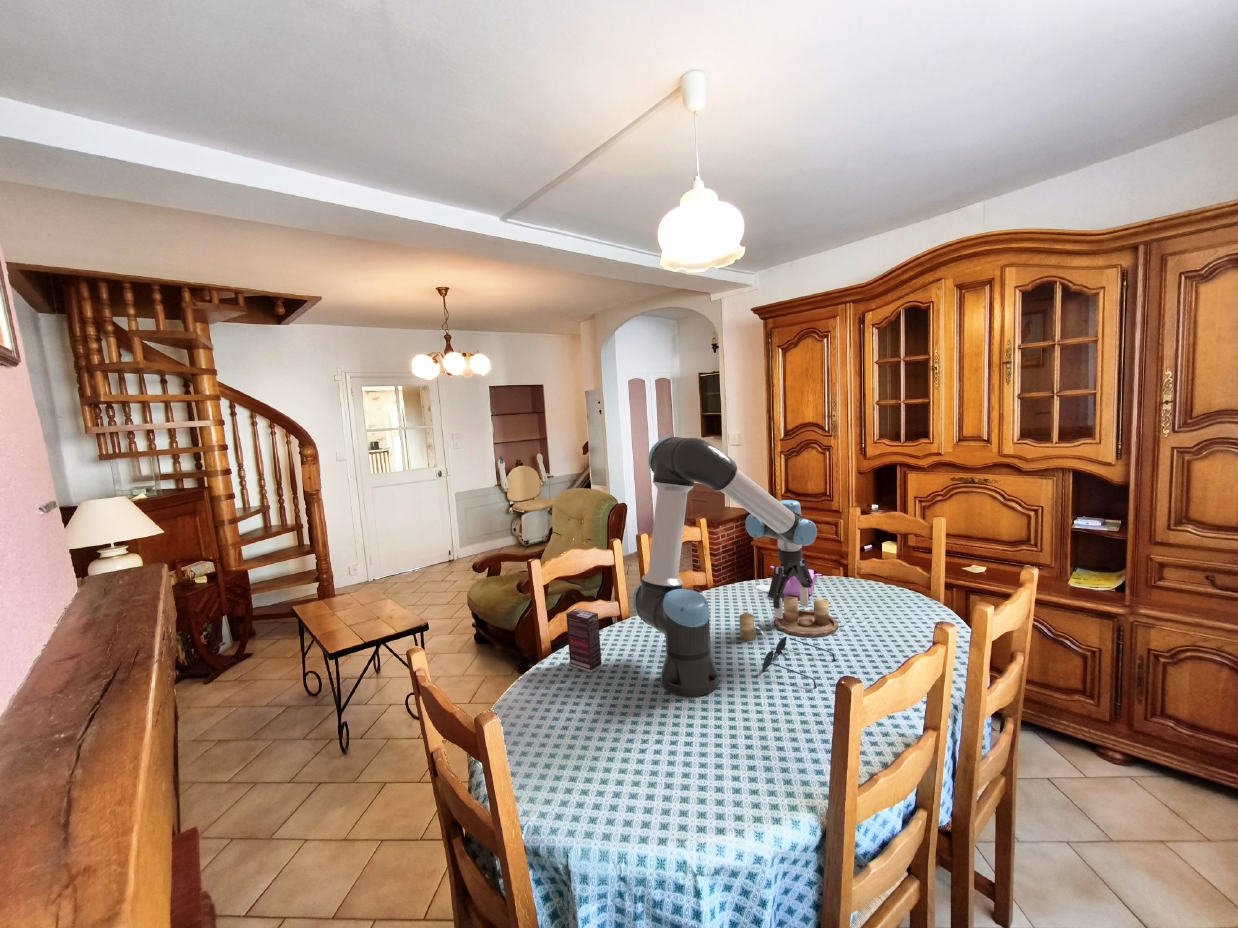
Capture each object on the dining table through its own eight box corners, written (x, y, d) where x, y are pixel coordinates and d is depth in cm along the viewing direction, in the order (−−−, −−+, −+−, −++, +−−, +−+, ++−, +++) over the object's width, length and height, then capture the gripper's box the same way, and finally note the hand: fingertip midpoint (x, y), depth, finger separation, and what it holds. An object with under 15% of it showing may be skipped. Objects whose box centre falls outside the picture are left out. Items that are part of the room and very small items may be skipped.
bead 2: (789, 615, 177) (789, 595, 176) (801, 619, 174) (800, 598, 173) (781, 619, 174) (780, 598, 174) (793, 623, 171) (792, 602, 170)
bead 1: (757, 640, 162) (756, 618, 162) (743, 641, 162) (742, 619, 161) (752, 634, 167) (751, 612, 166) (738, 635, 166) (737, 614, 166)
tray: (850, 635, 161) (849, 629, 161) (789, 642, 159) (789, 635, 159) (820, 612, 180) (820, 607, 180) (766, 618, 178) (765, 612, 178)
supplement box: (602, 666, 152) (599, 612, 150) (591, 673, 148) (587, 618, 146) (580, 659, 157) (576, 607, 156) (569, 665, 153) (565, 612, 152)
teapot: (780, 602, 191) (779, 573, 190) (770, 590, 205) (769, 562, 204) (822, 600, 191) (822, 571, 190) (810, 588, 204) (809, 560, 203)
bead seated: (831, 624, 168) (831, 603, 167) (818, 625, 168) (817, 604, 167) (824, 619, 172) (824, 598, 172) (811, 620, 172) (811, 599, 171)
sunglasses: (783, 649, 156) (785, 634, 155) (835, 668, 147) (837, 651, 146) (760, 675, 142) (762, 658, 141) (815, 696, 134) (818, 678, 133)
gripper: (803, 539, 182) (804, 598, 184) (755, 554, 167) (757, 618, 169) (822, 542, 176) (824, 604, 178) (774, 558, 161) (777, 625, 163)
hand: (791, 611), depth 174 cm, fingers open, 13 cm apart
